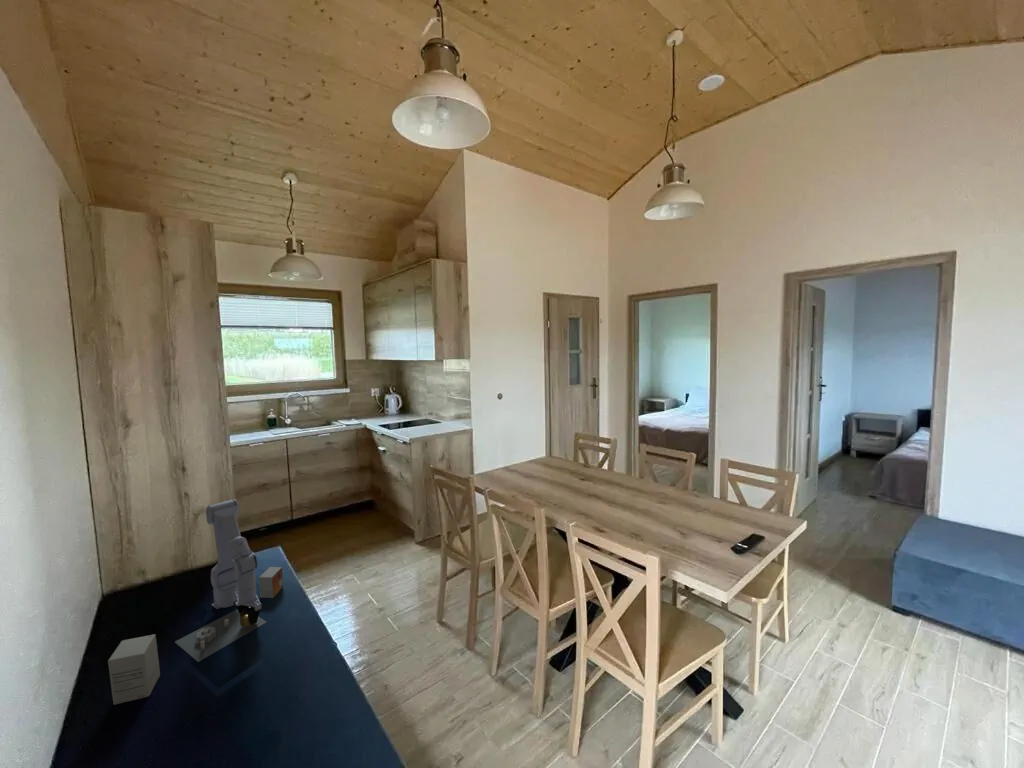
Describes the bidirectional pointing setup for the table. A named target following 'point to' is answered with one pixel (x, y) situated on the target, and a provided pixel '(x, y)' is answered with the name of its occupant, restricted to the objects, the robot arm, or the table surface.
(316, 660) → the table surface
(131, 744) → the table surface
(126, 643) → the supplement box
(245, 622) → the brass gear
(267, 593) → the small box
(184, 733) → the table surface
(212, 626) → the gear board
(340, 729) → the table surface
